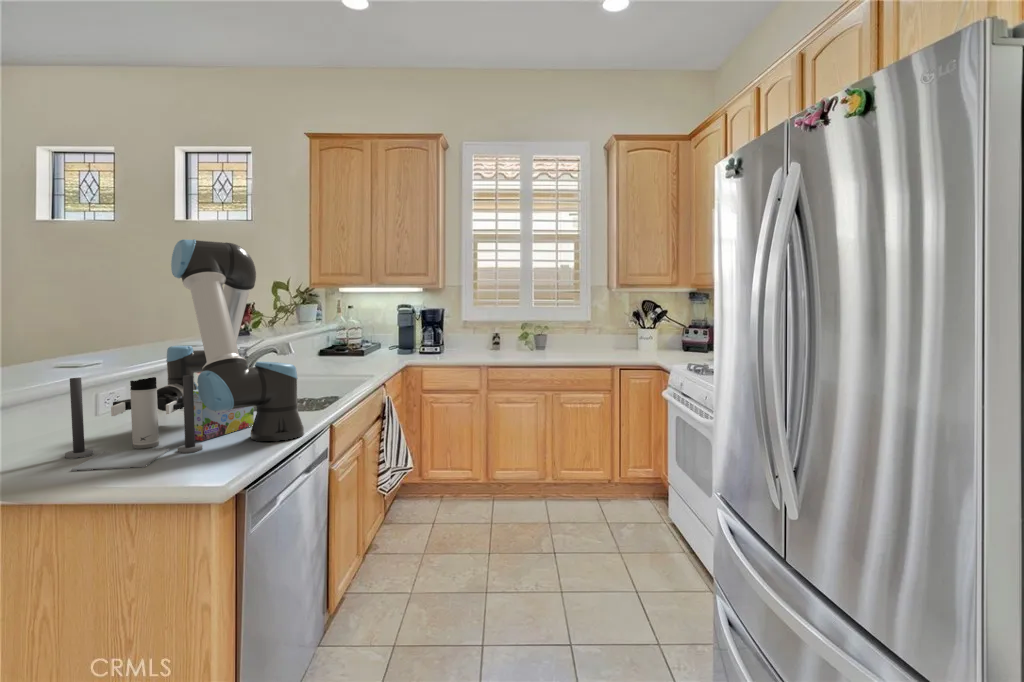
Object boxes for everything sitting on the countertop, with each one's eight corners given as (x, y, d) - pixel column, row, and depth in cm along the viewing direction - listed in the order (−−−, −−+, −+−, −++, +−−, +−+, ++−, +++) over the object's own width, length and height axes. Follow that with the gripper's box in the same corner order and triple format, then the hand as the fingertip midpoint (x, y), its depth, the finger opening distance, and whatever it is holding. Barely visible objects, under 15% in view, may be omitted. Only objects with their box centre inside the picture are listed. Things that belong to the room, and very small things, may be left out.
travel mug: (146, 449, 151) (144, 379, 150) (127, 448, 152) (124, 378, 151) (165, 444, 157) (162, 376, 156) (146, 442, 158) (143, 375, 157)
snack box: (204, 441, 160) (202, 391, 159) (189, 440, 161) (187, 390, 160) (255, 426, 181) (254, 381, 179) (241, 425, 182) (239, 380, 181)
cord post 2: (207, 448, 153) (205, 374, 152) (191, 453, 147) (188, 377, 146) (189, 446, 155) (187, 374, 153) (172, 452, 149) (169, 376, 147)
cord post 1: (99, 453, 147) (95, 377, 146) (77, 459, 141) (73, 380, 140) (81, 451, 148) (77, 376, 147) (58, 457, 142) (54, 379, 141)
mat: (169, 450, 151) (169, 448, 151) (144, 467, 135) (144, 465, 135) (104, 453, 147) (103, 451, 147) (70, 471, 131) (70, 469, 131)
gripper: (213, 407, 175) (190, 421, 154) (126, 410, 169) (89, 425, 149) (212, 384, 174) (189, 395, 154) (125, 386, 169) (88, 398, 148)
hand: (140, 410), depth 151 cm, fingers open, 13 cm apart
